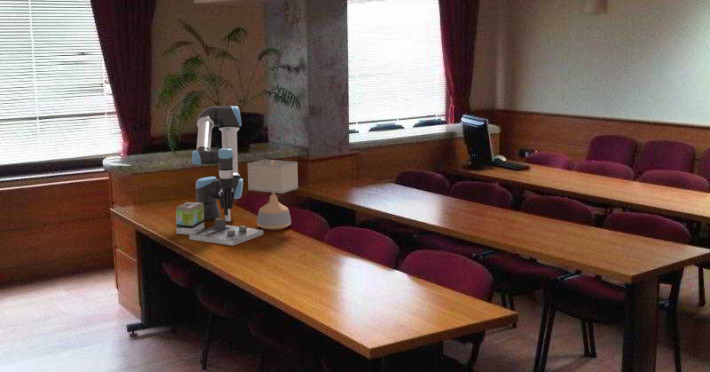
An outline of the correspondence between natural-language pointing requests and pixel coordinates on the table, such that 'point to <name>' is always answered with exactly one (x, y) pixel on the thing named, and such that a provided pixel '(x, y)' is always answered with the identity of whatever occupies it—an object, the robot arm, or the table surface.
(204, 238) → the console
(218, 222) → the cap
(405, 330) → the table surface
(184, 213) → the tea box
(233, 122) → the robot arm
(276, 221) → the desk lamp
